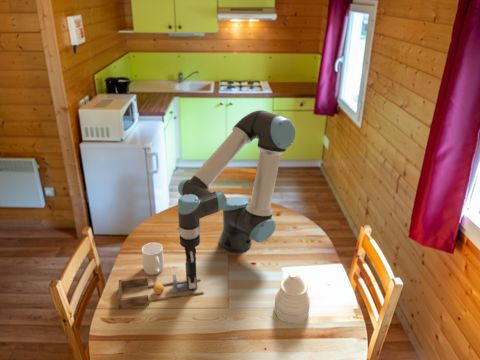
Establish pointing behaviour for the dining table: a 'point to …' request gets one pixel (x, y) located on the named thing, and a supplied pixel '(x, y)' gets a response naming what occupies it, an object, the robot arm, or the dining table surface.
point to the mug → (153, 258)
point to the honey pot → (292, 299)
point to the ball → (158, 288)
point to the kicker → (183, 286)
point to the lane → (175, 295)
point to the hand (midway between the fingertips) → (191, 283)
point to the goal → (132, 300)
